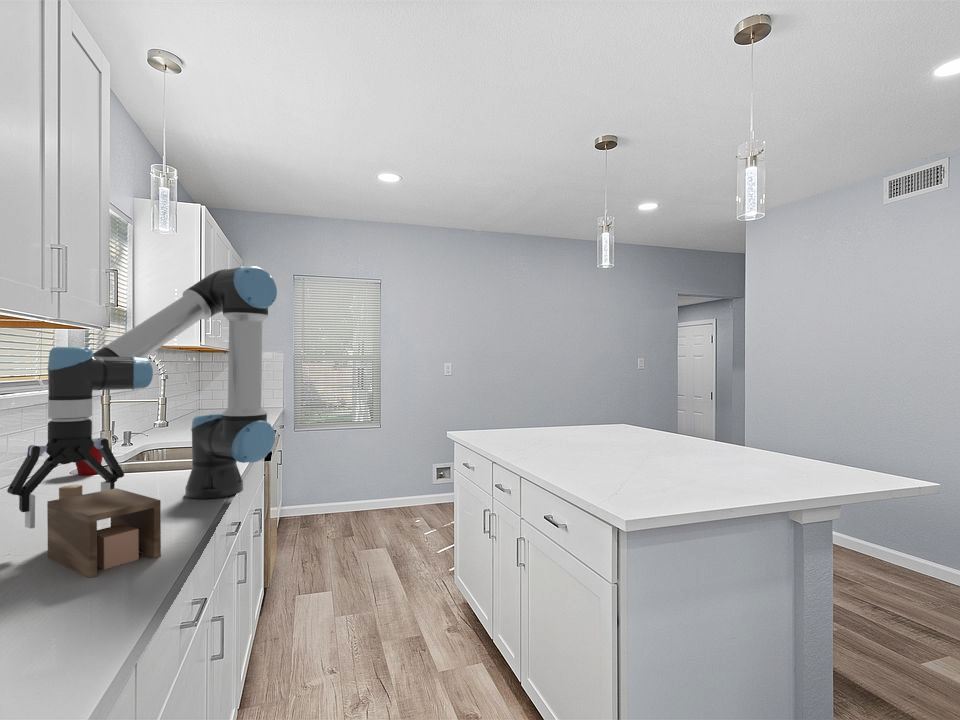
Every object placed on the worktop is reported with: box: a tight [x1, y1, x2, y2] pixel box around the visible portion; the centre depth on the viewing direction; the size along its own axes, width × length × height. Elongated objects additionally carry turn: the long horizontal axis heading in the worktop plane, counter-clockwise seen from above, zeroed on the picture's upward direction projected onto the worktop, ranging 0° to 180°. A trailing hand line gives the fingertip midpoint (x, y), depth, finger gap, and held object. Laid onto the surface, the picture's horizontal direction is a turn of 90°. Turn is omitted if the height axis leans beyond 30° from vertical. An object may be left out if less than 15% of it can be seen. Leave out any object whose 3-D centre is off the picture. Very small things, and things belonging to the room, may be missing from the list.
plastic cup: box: [75, 437, 109, 476], centre depth 182 cm, size 11×11×12 cm
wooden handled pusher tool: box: [58, 484, 140, 570], centre depth 109 cm, size 6×24×12 cm, turn 58°
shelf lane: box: [46, 488, 162, 578], centre depth 107 cm, size 12×18×11 cm
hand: (69, 519), depth 115 cm, fingers open, 13 cm apart
